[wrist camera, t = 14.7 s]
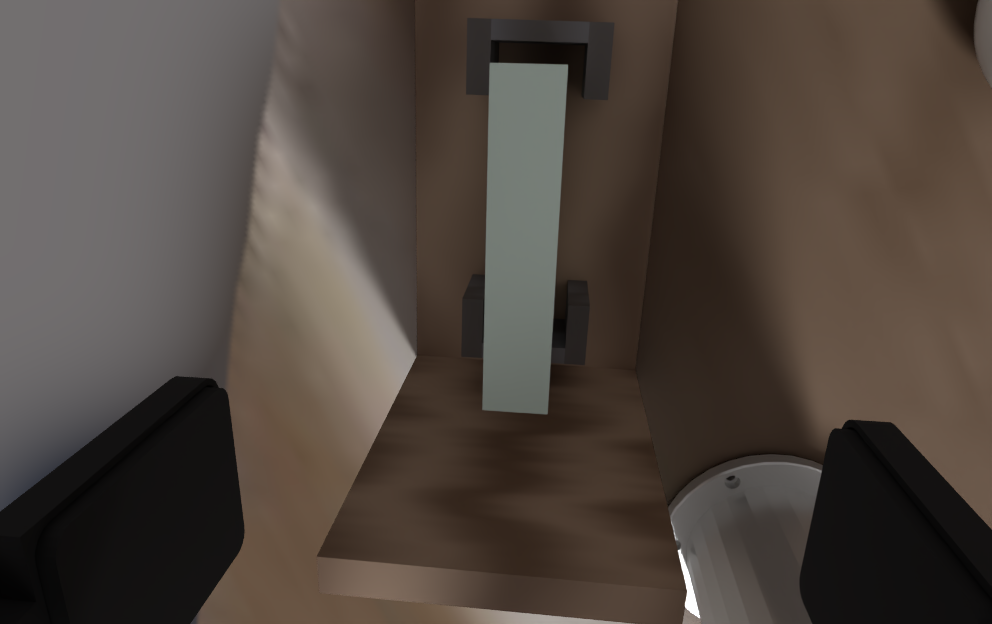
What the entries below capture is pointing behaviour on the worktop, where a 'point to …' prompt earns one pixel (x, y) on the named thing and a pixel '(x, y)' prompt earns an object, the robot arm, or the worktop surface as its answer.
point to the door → (522, 232)
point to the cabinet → (574, 355)
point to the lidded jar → (984, 37)
